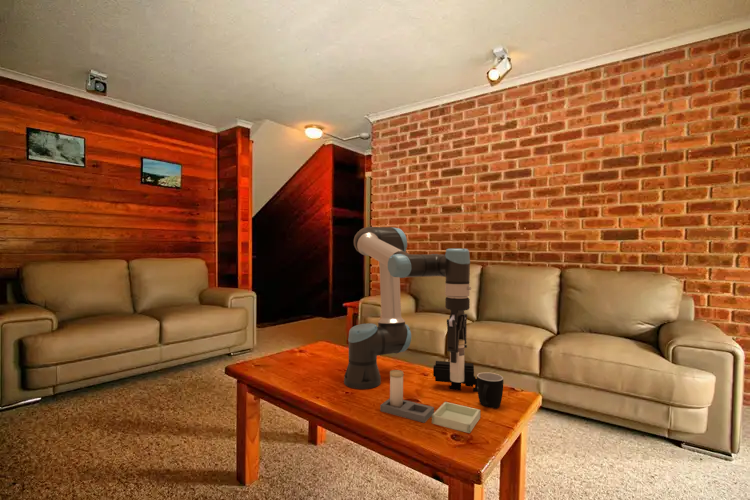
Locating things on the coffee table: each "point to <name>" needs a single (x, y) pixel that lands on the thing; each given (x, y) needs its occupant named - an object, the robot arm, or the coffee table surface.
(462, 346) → the fuse
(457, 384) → the security camera
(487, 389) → the mug
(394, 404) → the block
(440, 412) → the parts tray
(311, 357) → the coffee table surface
